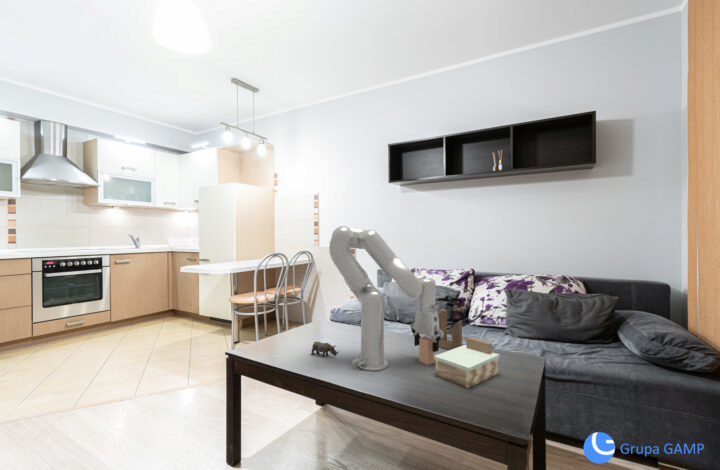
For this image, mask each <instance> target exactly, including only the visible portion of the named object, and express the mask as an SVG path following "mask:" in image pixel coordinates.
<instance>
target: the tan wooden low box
mask: <svg viewBox="0 0 720 470" xmlns="http://www.w3.org/2000/svg"><path fill="white" fill-rule="evenodd" d="M498 360H499V358H497V359H495V360H493V361H491V362H489V363H486V364H484V365H482V366H480V367H478V368H475V369H473V370H471V371H466V370H463V369H461V368H458V367H455V366H452V365H449V364H446V363H444V362H441V361H438V360H435V376H436V377H438V378H440V379H444V380H446V381H449V382H450V383H451V382H452V383H453V384H457V385H459V386H462V387H464V388H466V389H470V388H473V387H474V386H476V385H478V384H480V383H482V382H484V381H486V380H488V379H490V378H491V377H492V378H493V377H494V376H496V375H497V374H498V375H499V373H498V372H499V371H498V369H499V368H498V364H499V363H498V362H499V361H498Z"/></svg>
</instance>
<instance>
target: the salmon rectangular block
mask: <svg viewBox="0 0 720 470" xmlns="http://www.w3.org/2000/svg"><path fill="white" fill-rule="evenodd" d="M433 342H434V341H433V339H432V337H430V336H426V335H424V336H422V337H420V338H419V345H418V346H419V348H418V349H419V350H418V351H419V353H418V354H419V363H421V362H422V364H424V365H426V366H428V365H432V364H434V363H435V359H434V356H435V352H433V351H432V343H433Z"/></svg>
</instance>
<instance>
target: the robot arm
mask: <svg viewBox="0 0 720 470" xmlns="http://www.w3.org/2000/svg"><path fill="white" fill-rule="evenodd" d="M351 249H360V250H365V251H366V252H367V253H368V255H369V256H370V258H371V259H372V260H373V262H375V264H376V265H377V266H378V267H379V268H380V269H381V270H382V271H383V272H384V273H386V275H388V276H389V277H390V278H391V279H392V280H394V281H395V282H396V284H397V287H398V290H399V292H400V293H401V294H402V295H404V296H406V297H407V298H409V299H417V301H416V302H417V307H416V311H415V315H414V317H415V319H414V322H413V323H410V324H409V327H410V329H411V332H412V336H413V338H414V339H413V340H414V342H413V343H414V346H415V347H417V346H419V338H421V335H423V336H426V337H429V338H432V339H433V341H434V342H433V343H432V351H433V352H434V353H435V352H438V351H439V348H440V347H439V341H440V340H441V339H442V337H443V335H444V332H443V331H442V330H440V329H439V316H438V315H439V313H438V311H437V310H438V307H437V306H436V280H435V279H434V278H430V277H429V278H428V277H425V278H424V277H422V278H417V277H416V275H415V274H414V273H413V271H412V270H410V268H408V267H407V265H406V264H405V263H404V262H403V261H402V260H401V259H400V258H399V257H398V256H397V254H396V252H394V251H393V250H392V248H391V247H390V246H389V245H388V244H387V242H386V241H385V240H384V239H383V238H382V237H381V235H380V234H379V233H378V232H377V231H376V230H374V229H366V230H365V229H358V228H350V227H348V226H345V225H340V226H338V227H336V228H335V229H334V230H333V231H332V234H331V238H330V241H329V255H330V258H331V261H332V262H333V264H334V266H335V267H336V269H337V270H338V271H339V273H340V275H341V276H342V277H343V279H344V282H345V284H346V285H347V287H348V288H349V289H350V290H351V292H352V294H353V295H354V296H355V298H356V299H357V300H358V302H359V304H361V313H360V353H359V354H358V357H357V358H354V359H352V360H351V365H353V366H354V365H357V366H358V368H359V369H362V370H365V371H372V372H373V371H374V372H375V371H376V372H377V371H381V370H384V369H386V368H387V367H388V365H389V362H388V361H387V359H385V308H386V300H385V299H386V298H385V295H384V294H383V293H382V291H381V290H379V289H378V288H376V286H375V285H374V284H373V282H372V281H371V278H369V274H368V273H367V271H366V270H365V268H363V267H362V265H361V264H360V263H359V261H358V260H357V259H356V257H355V256H354V254H353V252H352V250H351Z"/></svg>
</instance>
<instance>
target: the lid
mask: <svg viewBox="0 0 720 470" xmlns="http://www.w3.org/2000/svg"><path fill="white" fill-rule="evenodd" d="M465 339H466V344H462V346H461V347H458V348H455V349H452V350H447V351H444V352H441V353H439V354H434V361H436V360H438V361H441V362H444V363H446V364H449V365H452V366H455V367H458V368H461V369H463V370H466V371H471V370H473V369H475V368H478V367H480V366H482V365H484V364H486V363H489V362H491V361H493V360H495V359H497V358H498V359H500V354H499V353H495V352H493V343H492V342H490V341H486V340H482V339H477V338H473V337H470V336H469V337H466V338H465Z"/></svg>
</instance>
